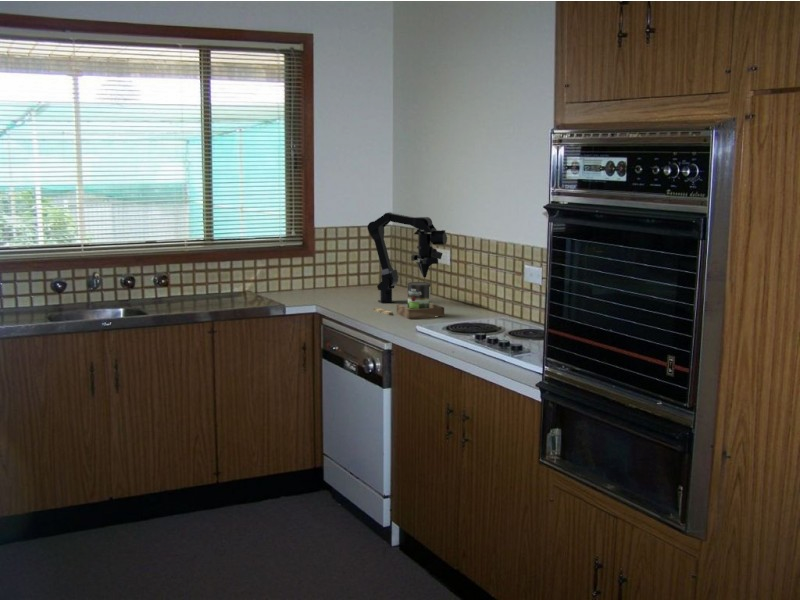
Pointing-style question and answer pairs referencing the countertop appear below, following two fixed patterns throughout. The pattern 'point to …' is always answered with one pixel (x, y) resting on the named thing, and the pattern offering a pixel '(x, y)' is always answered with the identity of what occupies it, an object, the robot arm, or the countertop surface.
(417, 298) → the coffee can
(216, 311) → the countertop surface
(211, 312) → the countertop surface
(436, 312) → the walnut cubby
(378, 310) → the oak stirring stick
